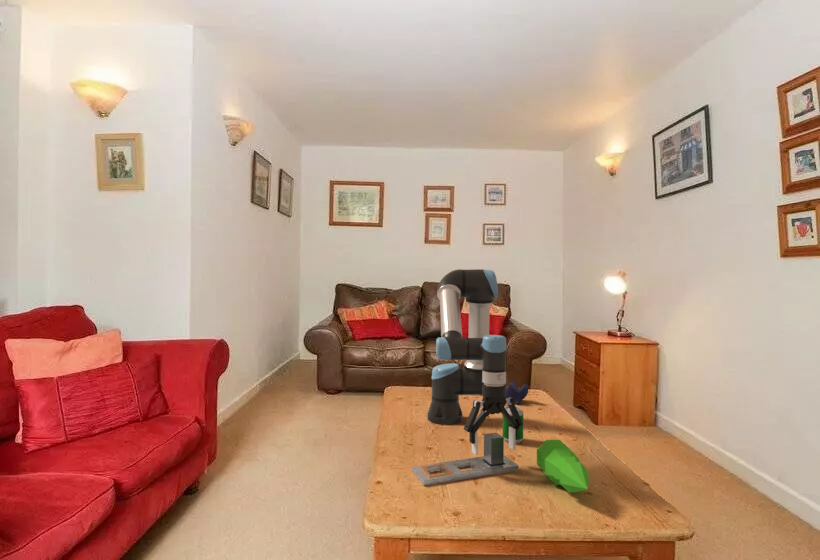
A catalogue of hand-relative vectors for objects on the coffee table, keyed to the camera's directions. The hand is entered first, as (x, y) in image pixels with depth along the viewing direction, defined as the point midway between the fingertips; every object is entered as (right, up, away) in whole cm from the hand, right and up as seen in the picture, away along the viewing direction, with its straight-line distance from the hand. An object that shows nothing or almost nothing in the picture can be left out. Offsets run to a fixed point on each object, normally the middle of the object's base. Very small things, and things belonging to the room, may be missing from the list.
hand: (493, 450), depth 141 cm
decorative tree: (+17, -6, -13) cm, 22 cm away
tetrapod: (+25, -6, +76) cm, 81 cm away
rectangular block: (0, -5, 0) cm, 5 cm away
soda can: (+12, -6, +24) cm, 27 cm away
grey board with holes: (-9, -5, -3) cm, 11 cm away
